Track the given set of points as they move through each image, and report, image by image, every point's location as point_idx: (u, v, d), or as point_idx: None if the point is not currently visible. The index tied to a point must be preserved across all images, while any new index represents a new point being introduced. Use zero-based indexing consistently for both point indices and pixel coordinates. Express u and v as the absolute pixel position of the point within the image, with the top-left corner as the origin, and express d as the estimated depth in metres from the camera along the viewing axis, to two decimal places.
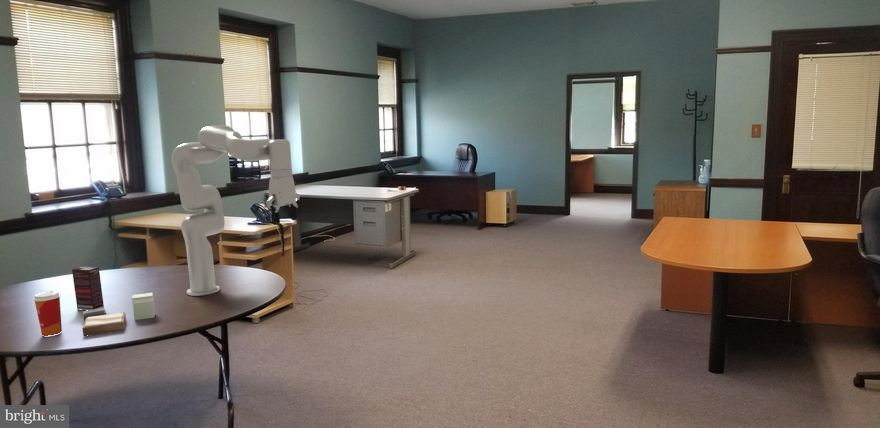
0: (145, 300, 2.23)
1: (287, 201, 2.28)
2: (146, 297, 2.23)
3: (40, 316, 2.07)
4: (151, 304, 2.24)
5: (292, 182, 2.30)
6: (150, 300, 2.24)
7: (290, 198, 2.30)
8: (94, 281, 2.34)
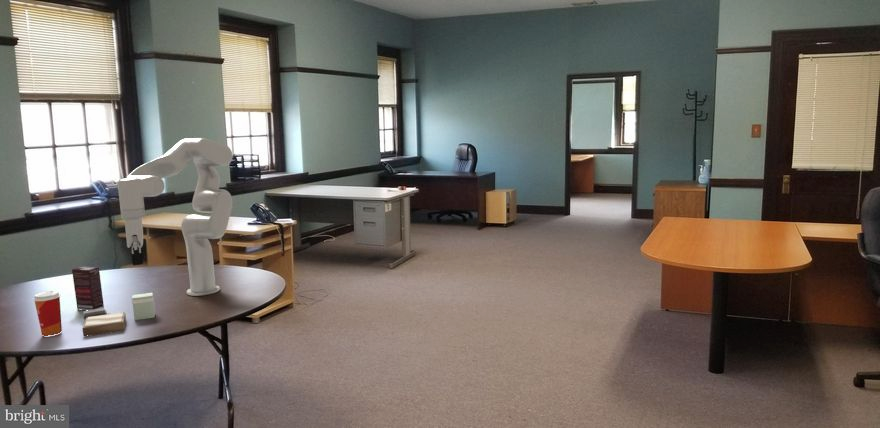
0: (145, 300, 2.23)
1: None
2: (146, 297, 2.23)
3: (40, 316, 2.07)
4: (151, 304, 2.24)
5: None
6: (150, 300, 2.24)
7: None
8: (94, 281, 2.34)
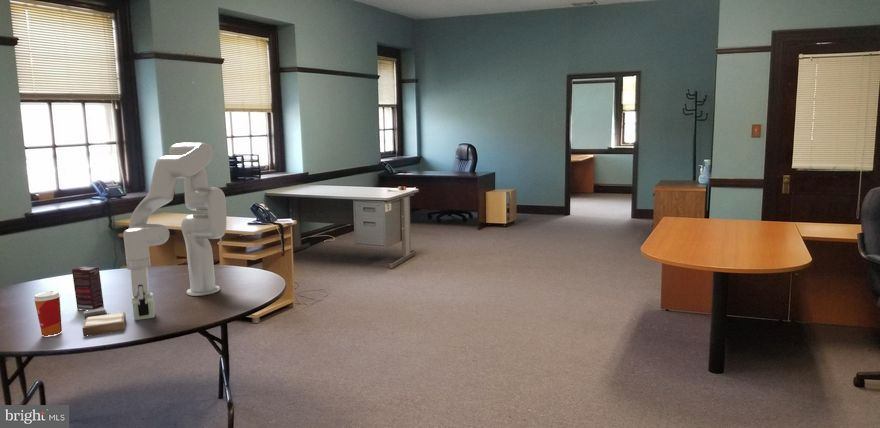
0: None
1: None
2: (146, 297, 2.23)
3: (40, 316, 2.07)
4: (151, 304, 2.24)
5: None
6: (150, 300, 2.24)
7: None
8: (94, 281, 2.34)
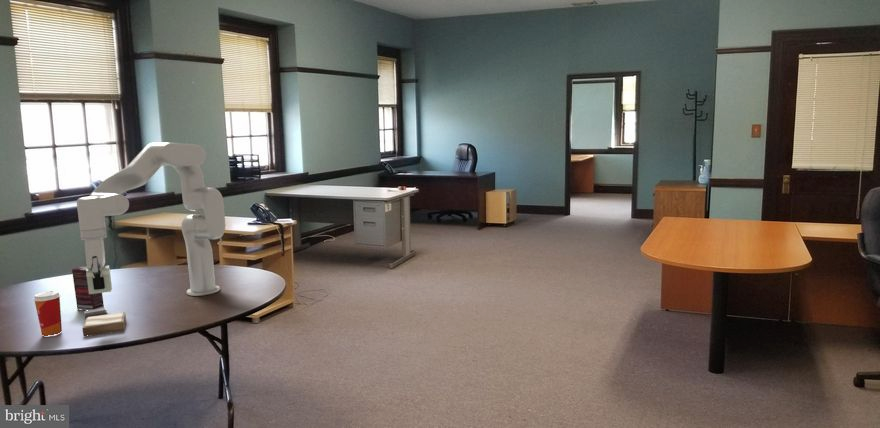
0: None
1: (104, 262, 2.12)
2: None
3: (40, 316, 2.07)
4: (107, 277, 2.11)
5: None
6: (106, 273, 2.11)
7: None
8: None
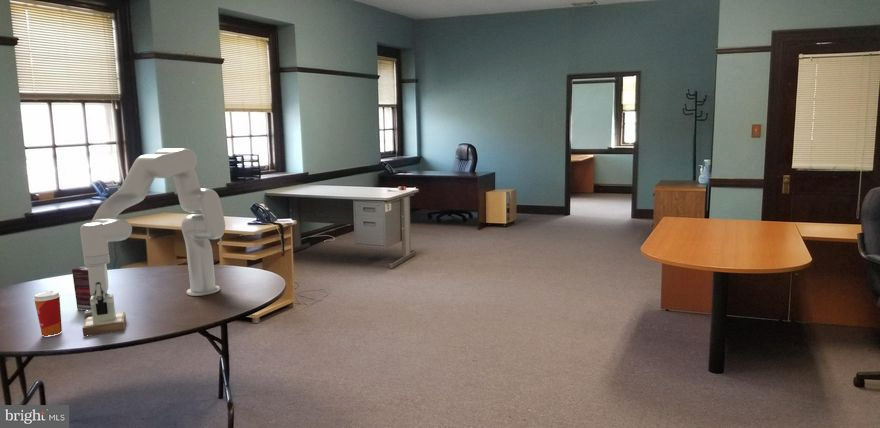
0: None
1: (107, 287, 2.13)
2: (105, 298, 2.12)
3: (40, 316, 2.07)
4: (111, 305, 2.13)
5: None
6: (110, 301, 2.12)
7: None
8: None
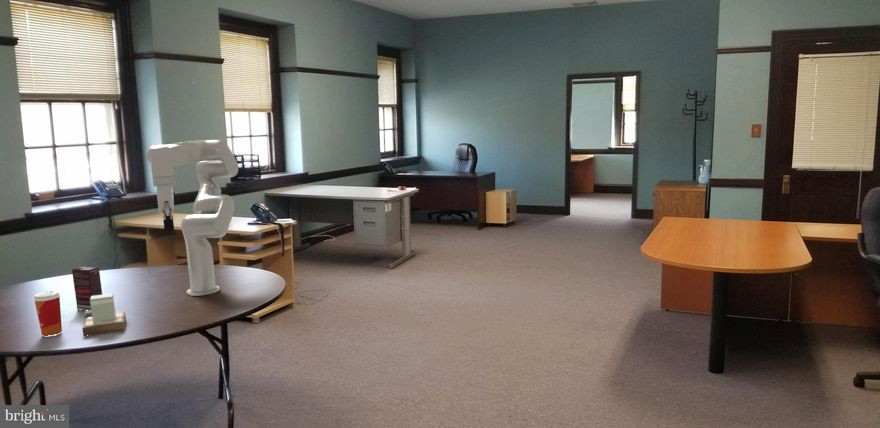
0: (104, 301, 2.12)
1: None
2: (105, 298, 2.12)
3: (40, 316, 2.07)
4: (111, 305, 2.13)
5: None
6: (110, 301, 2.12)
7: None
8: (94, 281, 2.34)
